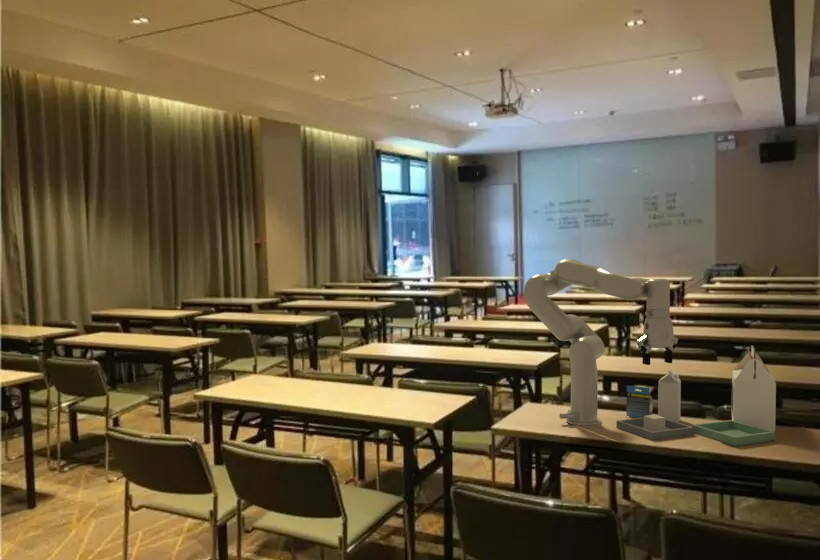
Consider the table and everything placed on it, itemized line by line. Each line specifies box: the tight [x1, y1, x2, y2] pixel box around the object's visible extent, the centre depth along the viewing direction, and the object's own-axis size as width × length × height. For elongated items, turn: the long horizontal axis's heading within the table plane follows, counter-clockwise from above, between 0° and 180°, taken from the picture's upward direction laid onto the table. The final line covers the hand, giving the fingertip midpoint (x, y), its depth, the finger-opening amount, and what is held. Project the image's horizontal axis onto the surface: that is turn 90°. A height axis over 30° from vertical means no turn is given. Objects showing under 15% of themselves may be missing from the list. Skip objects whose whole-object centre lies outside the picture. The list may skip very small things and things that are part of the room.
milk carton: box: [657, 368, 682, 423], centre depth 251 cm, size 7×7×19 cm
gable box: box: [731, 345, 777, 432], centre depth 247 cm, size 22×13×28 cm, turn 156°
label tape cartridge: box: [626, 384, 653, 418], centre depth 256 cm, size 9×4×12 cm, turn 51°
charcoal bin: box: [615, 417, 695, 441], centre depth 235 cm, size 18×18×3 cm
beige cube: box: [644, 414, 665, 432], centre depth 235 cm, size 5×5×5 cm
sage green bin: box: [691, 419, 776, 448], centre depth 229 cm, size 18×18×3 cm
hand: (657, 363), depth 235 cm, fingers open, 9 cm apart
